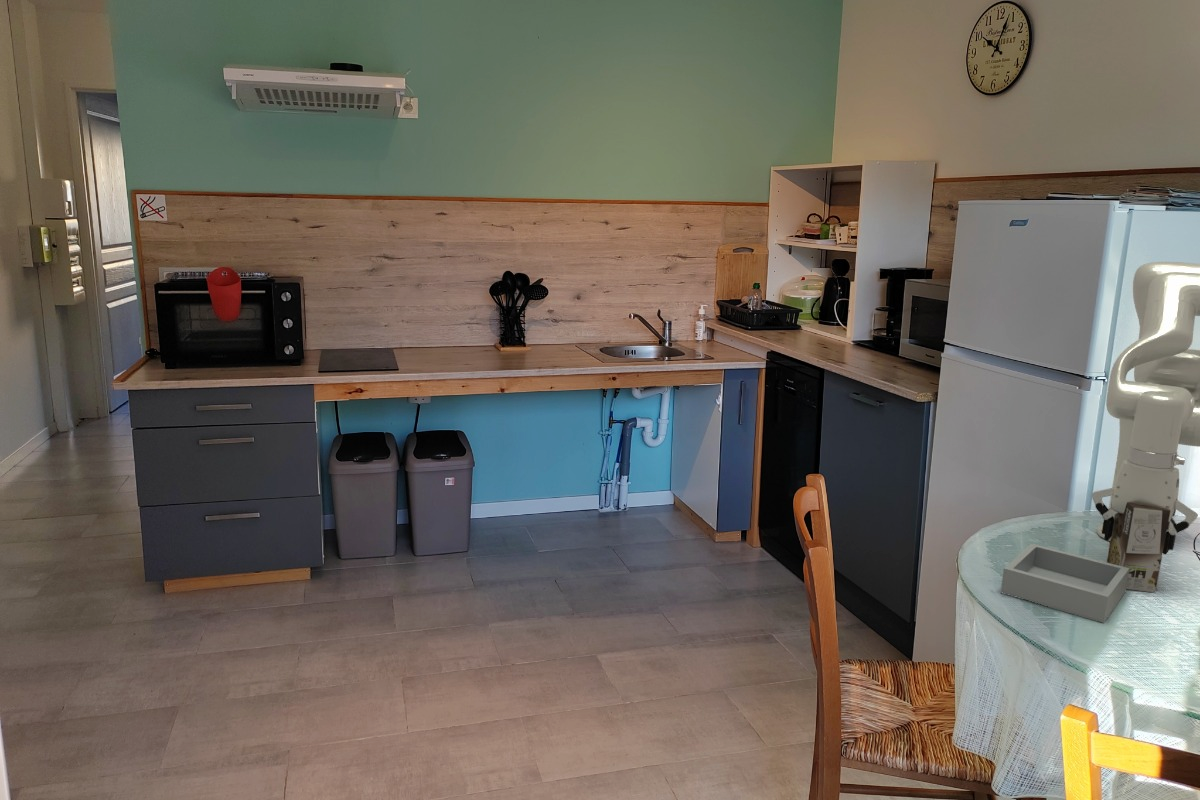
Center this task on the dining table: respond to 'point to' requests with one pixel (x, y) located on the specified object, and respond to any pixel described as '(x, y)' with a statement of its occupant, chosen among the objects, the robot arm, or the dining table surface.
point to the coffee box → (1139, 544)
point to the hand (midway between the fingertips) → (1136, 545)
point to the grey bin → (1066, 582)
